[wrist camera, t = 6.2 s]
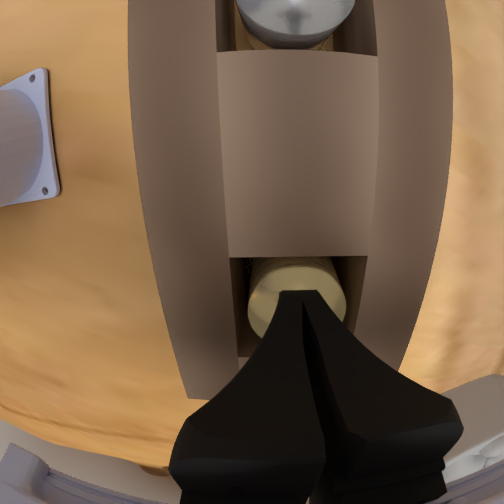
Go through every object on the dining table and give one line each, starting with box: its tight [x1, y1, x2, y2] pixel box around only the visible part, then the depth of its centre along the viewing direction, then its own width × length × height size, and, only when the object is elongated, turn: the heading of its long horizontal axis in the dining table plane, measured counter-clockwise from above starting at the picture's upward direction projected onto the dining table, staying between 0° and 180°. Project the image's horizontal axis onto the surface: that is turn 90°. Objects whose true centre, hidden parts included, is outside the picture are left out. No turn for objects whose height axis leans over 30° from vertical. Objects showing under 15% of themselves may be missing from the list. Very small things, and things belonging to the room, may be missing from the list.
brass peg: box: [248, 256, 346, 338], centre depth 13 cm, size 4×4×6 cm
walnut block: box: [128, 0, 453, 400], centre depth 11 cm, size 10×22×6 cm, turn 2°
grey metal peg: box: [236, 0, 355, 50], centre depth 9 cm, size 4×4×6 cm
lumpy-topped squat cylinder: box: [440, 375, 504, 484], centre depth 20 cm, size 10×13×9 cm
